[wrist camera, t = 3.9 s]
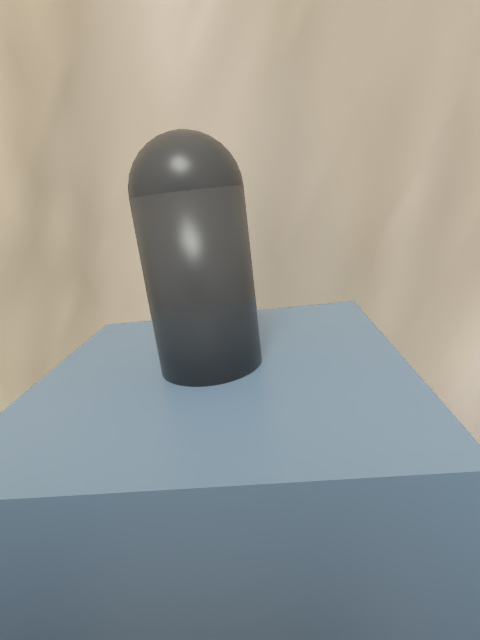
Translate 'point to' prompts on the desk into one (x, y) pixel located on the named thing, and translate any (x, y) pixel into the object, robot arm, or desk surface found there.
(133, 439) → the slate plug
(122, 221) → the desk surface
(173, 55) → the desk surface
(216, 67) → the desk surface
